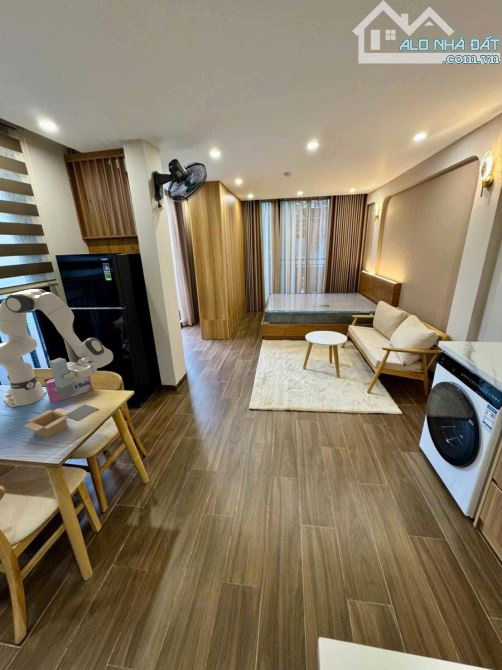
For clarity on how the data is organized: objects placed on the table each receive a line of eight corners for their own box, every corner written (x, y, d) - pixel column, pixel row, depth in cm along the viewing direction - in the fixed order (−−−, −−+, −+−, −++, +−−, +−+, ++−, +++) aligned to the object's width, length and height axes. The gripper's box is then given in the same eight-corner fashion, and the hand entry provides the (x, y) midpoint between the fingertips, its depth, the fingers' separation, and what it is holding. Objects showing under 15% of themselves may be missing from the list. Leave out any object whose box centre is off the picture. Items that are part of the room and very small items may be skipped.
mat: (64, 416, 142) (63, 415, 142) (84, 405, 152) (84, 404, 152) (78, 421, 137) (78, 420, 137) (98, 409, 148) (98, 408, 148)
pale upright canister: (58, 396, 134) (48, 361, 128) (68, 391, 139) (59, 357, 133) (64, 398, 132) (55, 362, 126) (74, 393, 137) (65, 359, 131)
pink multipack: (91, 385, 176) (87, 367, 172) (95, 389, 171) (91, 370, 167) (48, 399, 159) (43, 379, 155) (51, 404, 154) (46, 383, 150)
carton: (24, 435, 127) (20, 424, 125) (58, 417, 141) (55, 406, 139) (44, 444, 121) (40, 432, 119) (77, 424, 135) (74, 413, 133)
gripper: (72, 357, 146) (45, 367, 134) (96, 363, 139) (70, 373, 127) (74, 367, 148) (48, 378, 136) (98, 373, 141) (73, 385, 128)
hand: (59, 375), depth 131 cm, fingers closed on pale upright canister, 5 cm apart
